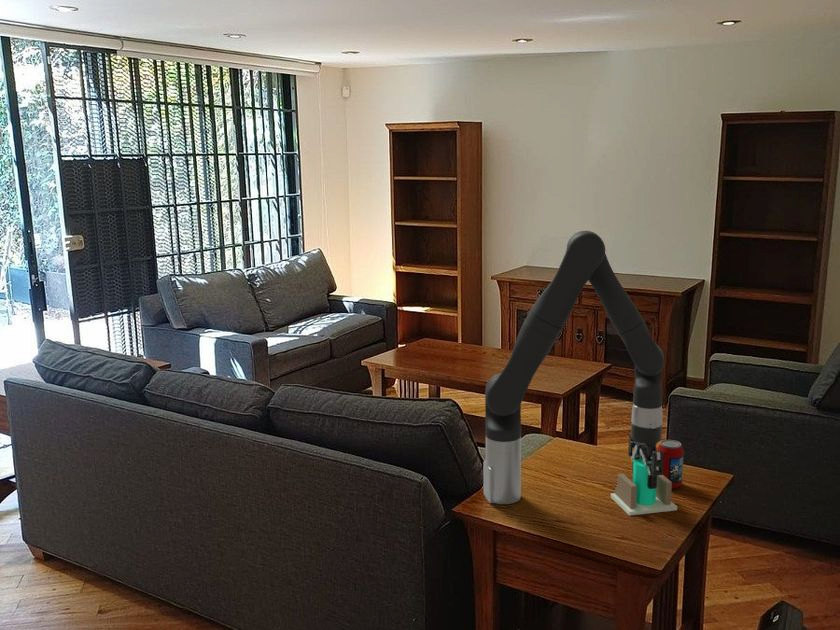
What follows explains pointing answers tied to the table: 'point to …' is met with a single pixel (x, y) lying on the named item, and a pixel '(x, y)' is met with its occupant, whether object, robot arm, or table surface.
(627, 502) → the holder
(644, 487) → the candle
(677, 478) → the beverage can
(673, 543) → the table surface
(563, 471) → the table surface
